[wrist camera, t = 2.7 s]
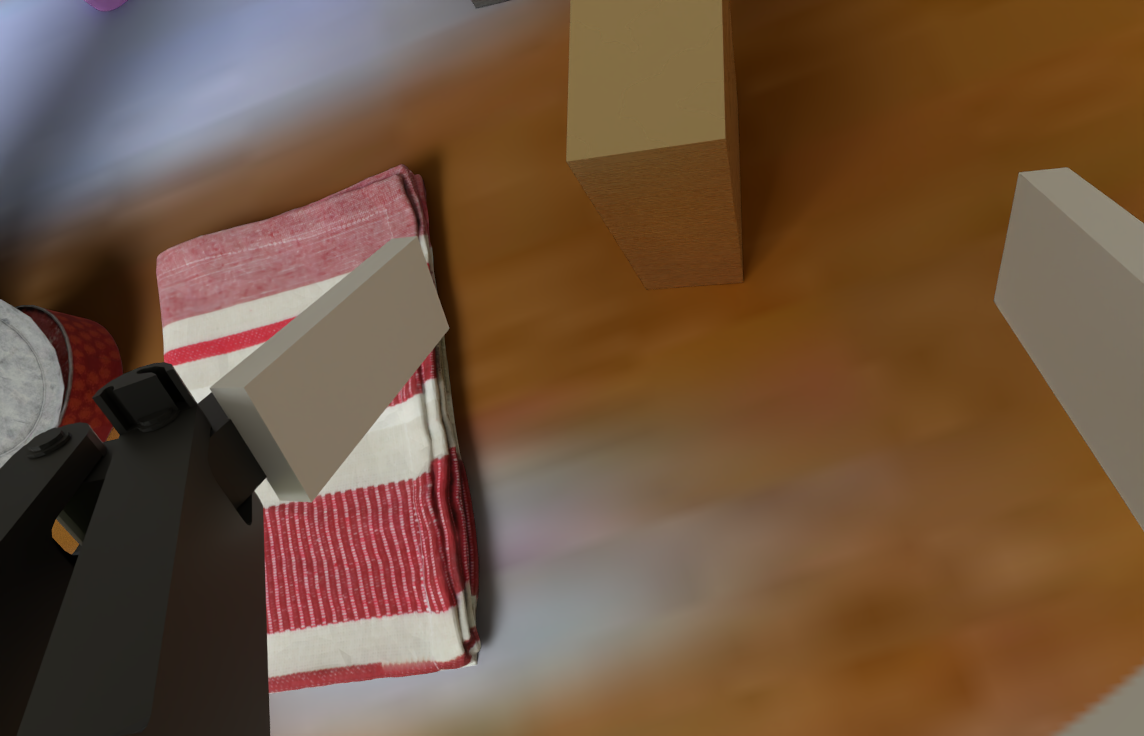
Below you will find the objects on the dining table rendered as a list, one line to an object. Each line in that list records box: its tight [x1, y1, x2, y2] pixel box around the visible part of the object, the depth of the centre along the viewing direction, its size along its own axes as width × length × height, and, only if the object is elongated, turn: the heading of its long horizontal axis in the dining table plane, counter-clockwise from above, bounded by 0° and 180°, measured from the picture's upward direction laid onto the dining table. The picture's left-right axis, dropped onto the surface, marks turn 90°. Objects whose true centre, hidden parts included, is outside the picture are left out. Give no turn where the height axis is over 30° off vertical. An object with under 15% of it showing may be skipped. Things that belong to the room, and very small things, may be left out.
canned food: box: [0, 299, 123, 468], centre depth 33 cm, size 11×10×10 cm
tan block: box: [566, 0, 743, 290], centre depth 21 cm, size 4×10×11 cm, turn 178°
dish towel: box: [156, 164, 481, 694], centre depth 29 cm, size 17×23×3 cm
